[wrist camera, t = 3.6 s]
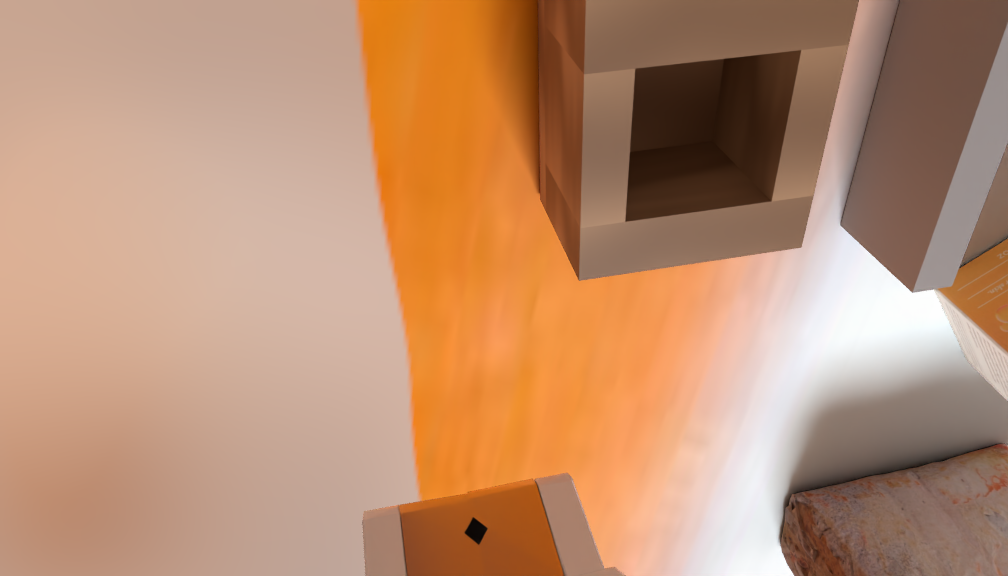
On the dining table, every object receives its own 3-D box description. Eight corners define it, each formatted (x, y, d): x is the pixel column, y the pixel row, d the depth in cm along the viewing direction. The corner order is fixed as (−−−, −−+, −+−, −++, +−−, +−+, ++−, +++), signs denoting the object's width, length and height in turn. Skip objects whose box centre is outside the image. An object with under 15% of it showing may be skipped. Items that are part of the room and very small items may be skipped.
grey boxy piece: (1028, 421, 40) (1200, 586, 32) (984, 513, 45) (1125, 677, 37) (787, 475, 39) (906, 662, 31) (768, 565, 43) (867, 746, 36)
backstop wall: (932, -122, 22) (1049, -95, 19) (977, -126, 22) (1102, -100, 19) (840, 225, 29) (912, 292, 26) (875, 220, 30) (951, 286, 26)
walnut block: (537, -50, 21) (586, -3, 17) (770, -71, 22) (865, -30, 18) (540, 199, 26) (579, 280, 22) (731, 173, 27) (801, 247, 23)
